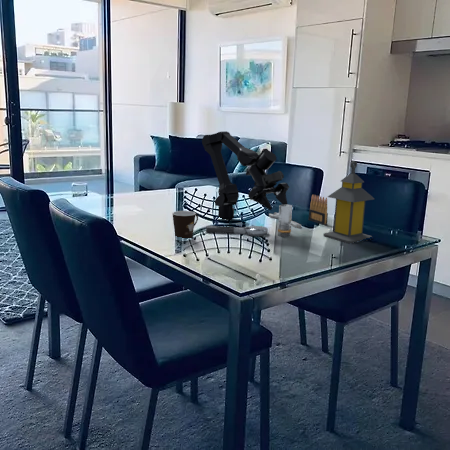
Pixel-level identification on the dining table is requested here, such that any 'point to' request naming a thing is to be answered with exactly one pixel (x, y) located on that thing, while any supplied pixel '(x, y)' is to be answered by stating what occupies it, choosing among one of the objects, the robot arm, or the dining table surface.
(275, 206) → the dining table surface
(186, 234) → the coffee mug
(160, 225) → the dining table surface
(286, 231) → the socket
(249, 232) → the ratchet
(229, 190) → the robot arm
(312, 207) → the ammunition clip
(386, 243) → the dining table surface
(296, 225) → the adjustable wrench
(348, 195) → the lantern
